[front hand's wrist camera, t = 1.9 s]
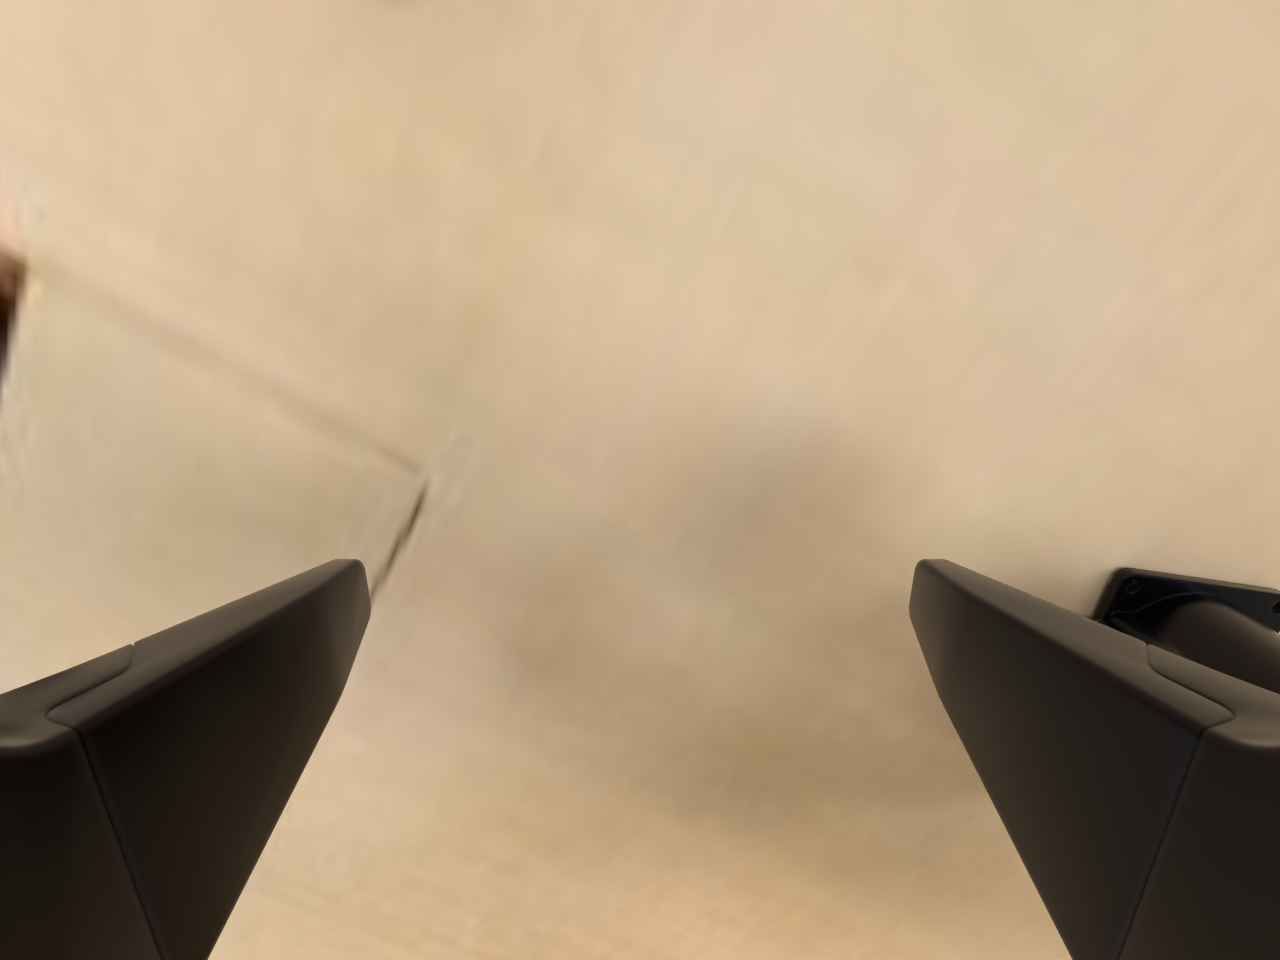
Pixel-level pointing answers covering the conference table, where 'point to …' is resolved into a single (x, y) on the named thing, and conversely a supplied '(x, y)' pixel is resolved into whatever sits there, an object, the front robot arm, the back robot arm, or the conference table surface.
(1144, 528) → the conference table surface
